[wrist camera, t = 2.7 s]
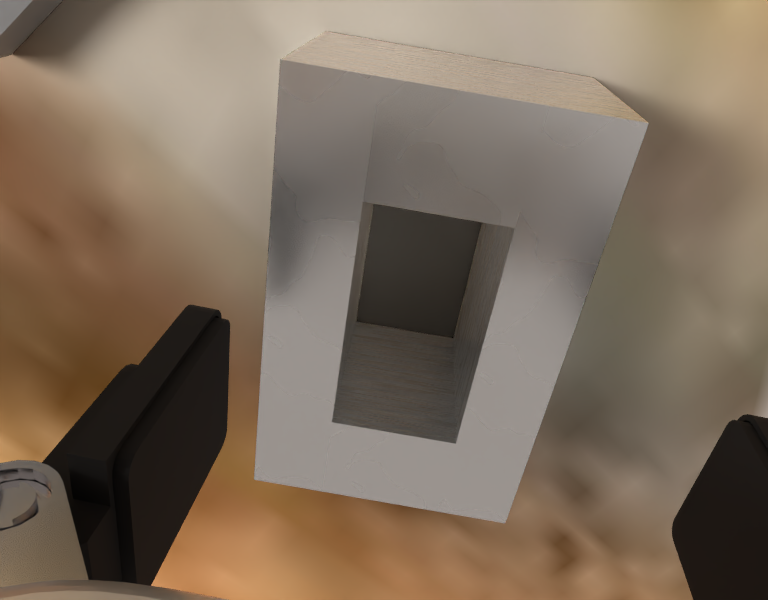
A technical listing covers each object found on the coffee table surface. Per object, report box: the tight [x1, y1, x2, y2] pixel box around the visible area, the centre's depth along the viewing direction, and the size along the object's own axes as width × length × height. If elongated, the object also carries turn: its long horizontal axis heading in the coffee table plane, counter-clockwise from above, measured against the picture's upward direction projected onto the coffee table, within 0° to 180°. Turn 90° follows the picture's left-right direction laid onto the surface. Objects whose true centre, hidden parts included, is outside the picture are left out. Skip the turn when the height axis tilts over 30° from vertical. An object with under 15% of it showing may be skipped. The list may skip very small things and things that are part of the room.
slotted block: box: [254, 31, 649, 523], centre depth 16 cm, size 11×7×5 cm, turn 171°
